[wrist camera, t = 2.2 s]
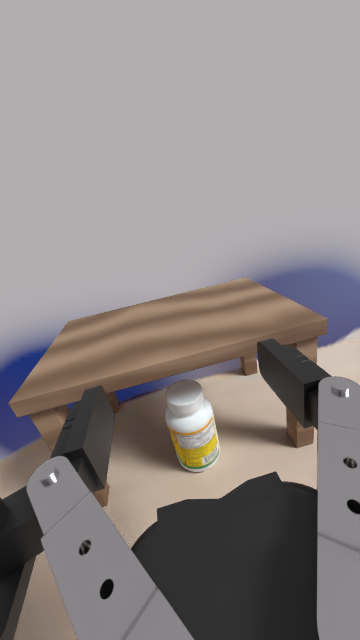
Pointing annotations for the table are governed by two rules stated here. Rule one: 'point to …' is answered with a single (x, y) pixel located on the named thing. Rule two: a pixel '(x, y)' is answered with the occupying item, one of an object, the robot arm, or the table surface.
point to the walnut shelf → (164, 349)
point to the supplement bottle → (192, 426)
